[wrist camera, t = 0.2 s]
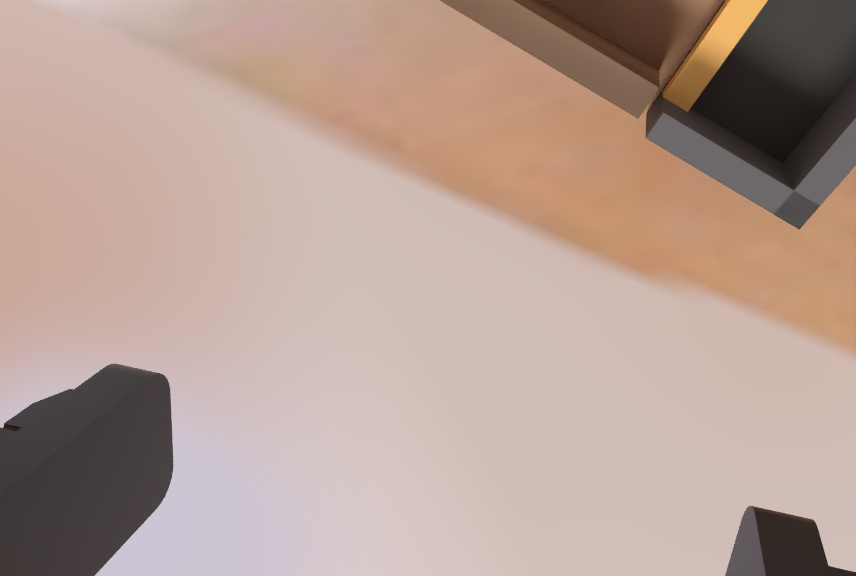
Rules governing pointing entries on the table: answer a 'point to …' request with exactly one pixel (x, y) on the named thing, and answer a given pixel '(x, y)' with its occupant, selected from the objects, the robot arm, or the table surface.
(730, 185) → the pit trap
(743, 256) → the table surface
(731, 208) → the table surface
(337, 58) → the table surface
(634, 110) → the chute
